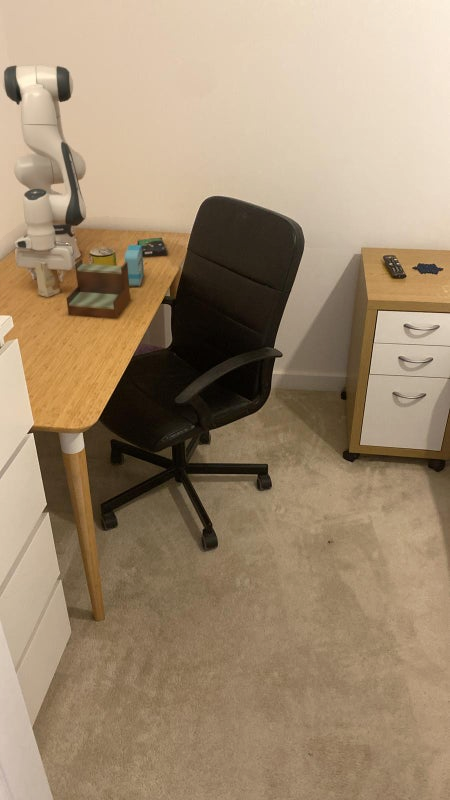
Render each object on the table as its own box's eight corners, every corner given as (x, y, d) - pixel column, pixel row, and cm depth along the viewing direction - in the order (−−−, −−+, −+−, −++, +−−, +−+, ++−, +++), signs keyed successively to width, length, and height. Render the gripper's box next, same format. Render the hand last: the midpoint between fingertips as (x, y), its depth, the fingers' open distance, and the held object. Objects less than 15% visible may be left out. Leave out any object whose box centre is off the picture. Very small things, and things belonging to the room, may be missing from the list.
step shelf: (68, 315, 210) (63, 275, 203) (84, 296, 222) (80, 259, 215) (116, 318, 207) (112, 279, 200) (130, 300, 220) (127, 262, 213)
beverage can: (108, 277, 238) (105, 245, 231) (123, 283, 232) (120, 251, 226) (87, 283, 232) (84, 251, 226) (102, 290, 227) (99, 257, 220)
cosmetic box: (47, 298, 221) (42, 263, 215) (38, 295, 223) (33, 261, 217) (61, 291, 226) (56, 258, 219) (52, 289, 228) (47, 255, 221)
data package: (139, 288, 229) (137, 255, 223) (126, 287, 229) (124, 255, 223) (144, 275, 239) (141, 243, 233) (131, 275, 239) (129, 243, 233)
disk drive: (167, 256, 257) (161, 243, 269) (167, 249, 255) (161, 237, 268) (141, 258, 255) (137, 245, 267) (141, 251, 253) (136, 238, 266)
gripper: (75, 239, 216) (80, 279, 223) (18, 236, 219) (24, 275, 226) (68, 245, 210) (74, 285, 218) (9, 242, 213) (16, 282, 221)
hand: (48, 280), depth 222 cm, fingers open, 8 cm apart
